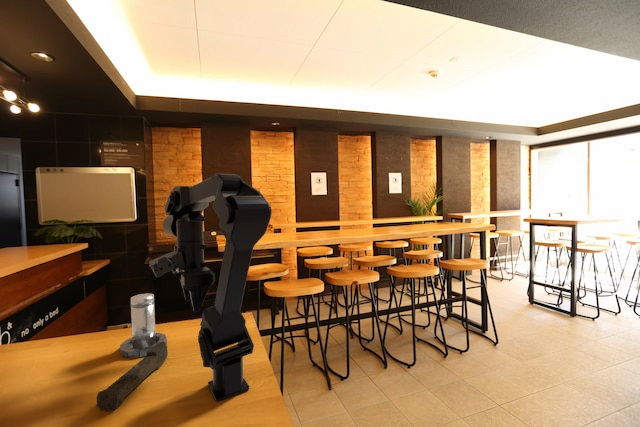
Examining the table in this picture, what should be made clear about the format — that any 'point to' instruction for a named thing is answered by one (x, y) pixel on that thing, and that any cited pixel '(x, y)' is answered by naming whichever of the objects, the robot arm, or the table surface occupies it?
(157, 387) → the table surface
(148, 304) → the silver metal cylinder
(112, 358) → the table surface
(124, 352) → the ring
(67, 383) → the table surface
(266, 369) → the table surface
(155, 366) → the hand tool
